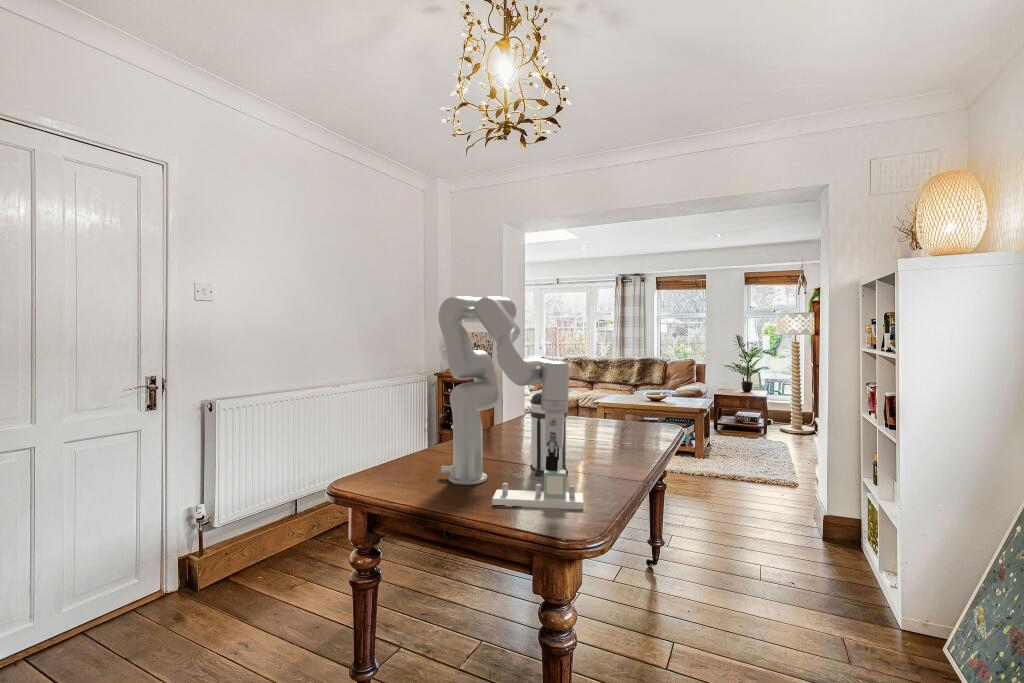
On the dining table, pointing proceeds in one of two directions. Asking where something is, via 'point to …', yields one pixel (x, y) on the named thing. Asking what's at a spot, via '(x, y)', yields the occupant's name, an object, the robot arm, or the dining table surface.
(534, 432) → the coffee press
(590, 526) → the dining table surface
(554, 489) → the tall sage green block
